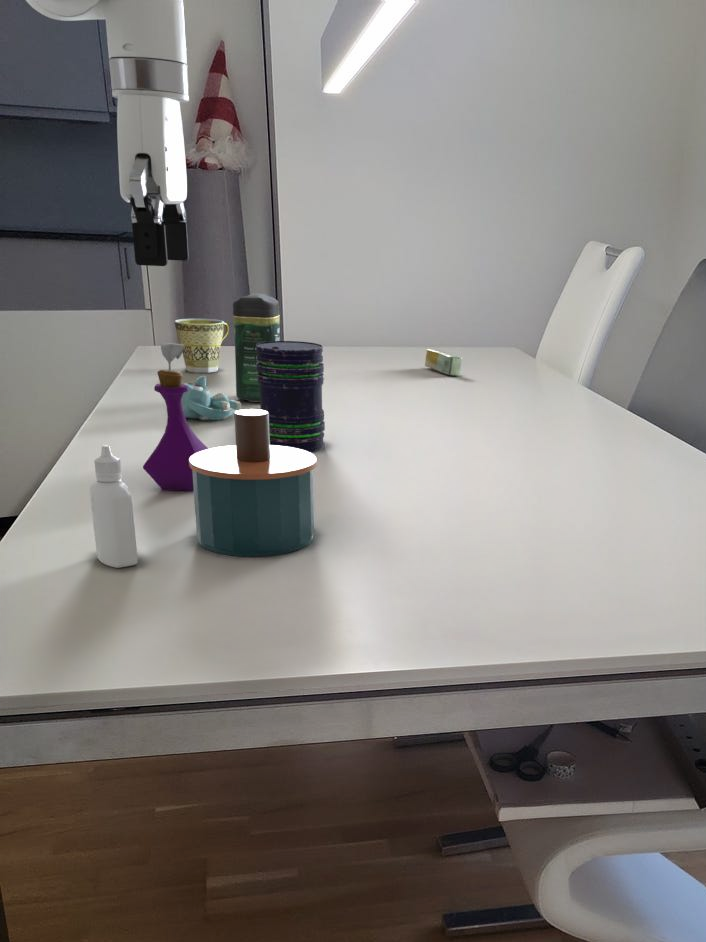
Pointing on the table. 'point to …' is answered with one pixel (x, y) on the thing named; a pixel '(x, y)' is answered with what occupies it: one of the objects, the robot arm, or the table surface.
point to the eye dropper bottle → (112, 513)
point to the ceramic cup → (201, 343)
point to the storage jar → (292, 392)
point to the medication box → (443, 362)
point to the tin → (254, 514)
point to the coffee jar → (252, 339)
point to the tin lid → (252, 453)
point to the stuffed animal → (206, 402)
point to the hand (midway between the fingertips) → (163, 262)
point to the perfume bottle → (173, 432)
